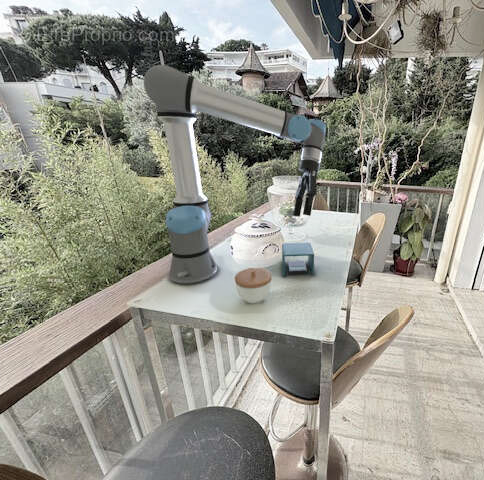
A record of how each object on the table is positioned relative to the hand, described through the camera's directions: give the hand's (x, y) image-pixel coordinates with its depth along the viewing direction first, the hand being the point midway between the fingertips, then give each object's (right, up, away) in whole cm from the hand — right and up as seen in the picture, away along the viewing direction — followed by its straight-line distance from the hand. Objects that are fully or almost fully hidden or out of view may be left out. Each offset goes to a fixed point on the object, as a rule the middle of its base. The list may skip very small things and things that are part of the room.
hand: (301, 215), depth 103 cm
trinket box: (-13, -28, -20) cm, 37 cm away
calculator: (-1, -20, -1) cm, 21 cm away
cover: (-1, -20, -1) cm, 21 cm away
